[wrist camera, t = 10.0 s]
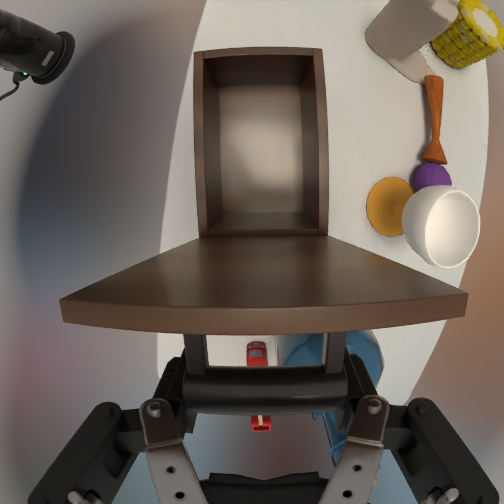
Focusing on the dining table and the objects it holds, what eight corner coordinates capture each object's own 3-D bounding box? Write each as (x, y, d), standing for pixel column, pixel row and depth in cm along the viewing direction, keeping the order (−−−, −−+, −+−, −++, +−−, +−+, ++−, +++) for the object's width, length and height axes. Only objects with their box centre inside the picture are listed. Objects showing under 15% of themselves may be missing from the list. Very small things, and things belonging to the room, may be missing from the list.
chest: (212, 82, 34) (193, 51, 23) (305, 80, 34) (322, 48, 22) (217, 219, 40) (199, 240, 29) (309, 218, 39) (327, 238, 28)
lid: (58, 299, 7) (96, 426, 8) (469, 292, 7) (433, 422, 8) (198, 237, 28) (200, 289, 29) (328, 235, 27) (327, 287, 28)
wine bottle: (264, 289, 43) (266, 472, 14) (349, 269, 41) (454, 417, 13) (282, 358, 46) (294, 521, 18) (356, 340, 45) (419, 487, 16)
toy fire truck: (265, 339, 45) (266, 378, 36) (270, 396, 49) (271, 433, 40) (245, 341, 46) (242, 379, 36) (253, 397, 49) (251, 434, 40)
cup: (354, 204, 39) (405, 228, 23) (394, 164, 37) (459, 167, 21) (388, 247, 40) (444, 289, 25) (426, 209, 38) (491, 232, 23)
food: (465, 74, 32) (423, 61, 33) (459, 21, 26) (416, 5, 27) (518, 76, 18) (474, 54, 19) (508, 10, 13) (461, -16, 14)
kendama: (458, 83, 28) (456, 208, 32) (434, 89, 33) (430, 203, 38) (432, 67, 27) (431, 202, 31) (408, 76, 32) (405, 197, 37)
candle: (425, 97, 33) (510, 70, 14) (357, 40, 31) (413, -26, 12) (440, 71, 31) (518, 40, 12) (376, 16, 29) (431, -46, 10)
